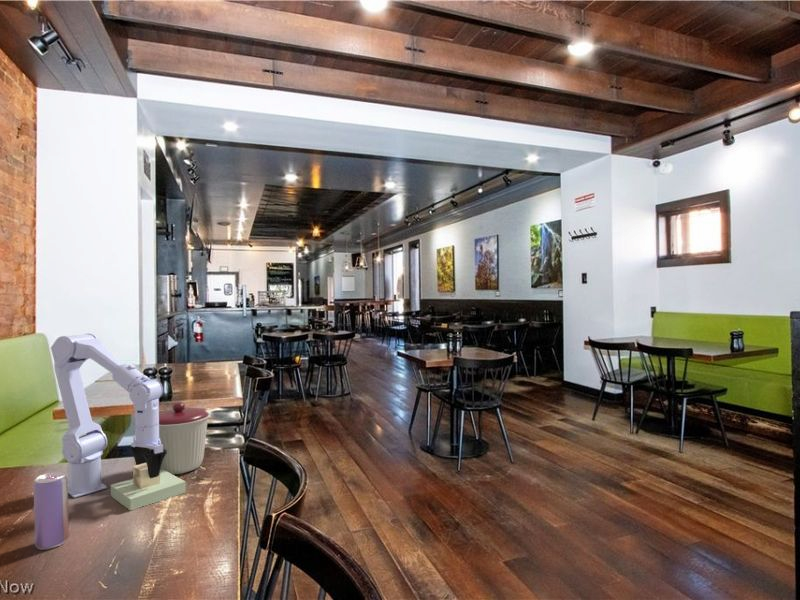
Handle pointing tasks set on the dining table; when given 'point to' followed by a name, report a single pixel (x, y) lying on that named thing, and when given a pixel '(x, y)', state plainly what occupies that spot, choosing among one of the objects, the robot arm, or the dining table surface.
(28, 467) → the dining table surface
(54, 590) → the dining table surface
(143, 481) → the maple block
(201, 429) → the canister
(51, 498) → the beverage can
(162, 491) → the green plinth
